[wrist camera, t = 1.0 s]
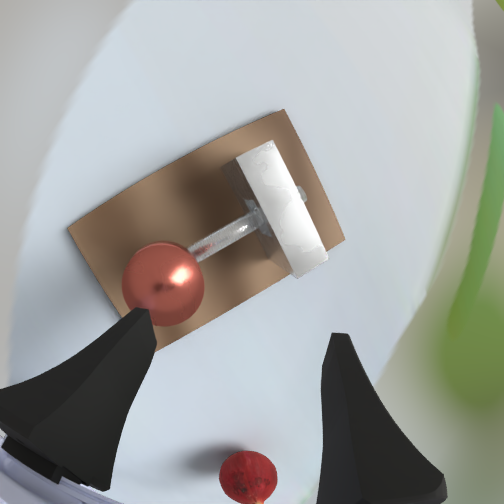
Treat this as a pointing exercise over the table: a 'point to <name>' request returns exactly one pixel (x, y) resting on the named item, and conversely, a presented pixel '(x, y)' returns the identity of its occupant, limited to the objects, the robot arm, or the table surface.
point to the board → (200, 222)
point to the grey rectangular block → (276, 209)
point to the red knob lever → (179, 271)
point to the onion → (248, 477)
